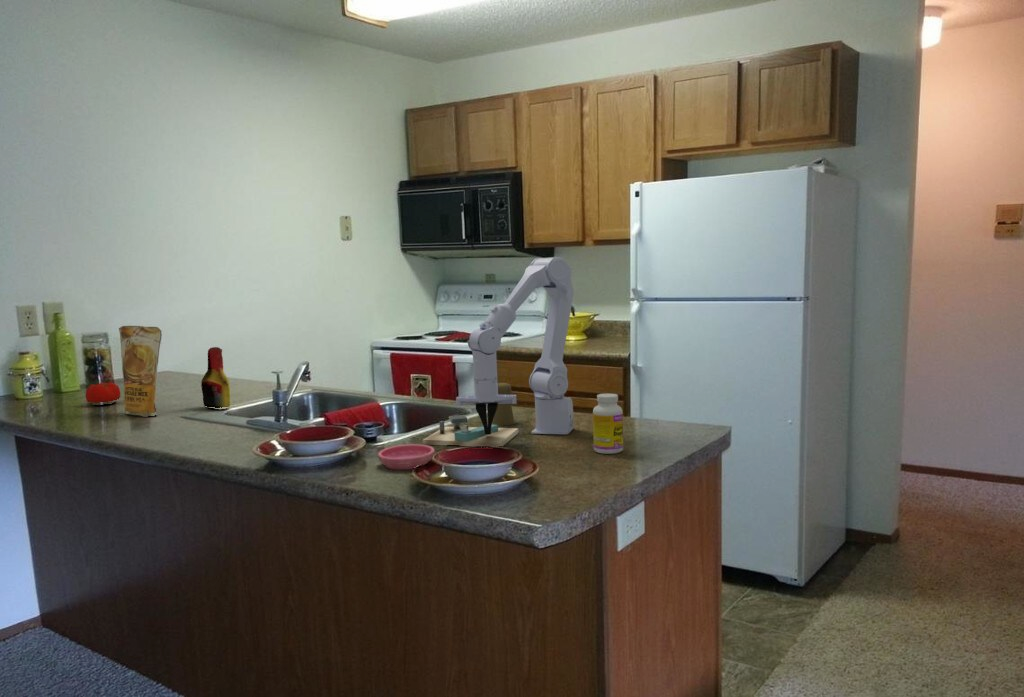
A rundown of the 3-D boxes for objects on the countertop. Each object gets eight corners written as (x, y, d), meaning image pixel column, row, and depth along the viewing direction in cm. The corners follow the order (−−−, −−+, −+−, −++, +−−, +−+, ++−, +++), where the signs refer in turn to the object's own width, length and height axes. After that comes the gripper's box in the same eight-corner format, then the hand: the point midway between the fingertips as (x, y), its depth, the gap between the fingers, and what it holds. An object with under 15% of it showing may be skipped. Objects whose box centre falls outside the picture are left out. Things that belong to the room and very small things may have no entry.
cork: (511, 425, 203) (510, 385, 202) (489, 425, 204) (488, 385, 203) (516, 420, 209) (514, 381, 208) (494, 420, 210) (493, 381, 209)
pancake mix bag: (136, 410, 249) (128, 324, 245) (171, 414, 238) (163, 325, 235) (116, 414, 243) (108, 326, 240) (151, 418, 233) (142, 327, 229)
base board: (518, 433, 194) (518, 428, 194) (501, 447, 180) (500, 442, 180) (445, 430, 200) (445, 426, 200) (422, 444, 185) (422, 439, 185)
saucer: (404, 475, 160) (403, 460, 159) (366, 467, 168) (366, 453, 167) (446, 462, 169) (446, 448, 169) (409, 454, 177) (408, 441, 177)
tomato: (98, 408, 255) (95, 386, 254) (80, 406, 261) (78, 384, 260) (128, 403, 264) (126, 381, 263) (111, 401, 270) (109, 380, 269)
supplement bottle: (615, 456, 168) (614, 398, 166) (588, 453, 171) (587, 396, 170) (628, 449, 173) (626, 393, 172) (601, 446, 177) (600, 391, 175)
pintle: (469, 438, 185) (469, 425, 184) (467, 439, 183) (467, 426, 183) (464, 438, 185) (463, 425, 185) (462, 439, 184) (461, 426, 183)
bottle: (237, 408, 244) (232, 346, 242) (219, 412, 239) (213, 349, 237) (217, 405, 252) (212, 345, 249) (199, 409, 247) (193, 347, 244)
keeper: (468, 435, 193) (467, 418, 192) (440, 438, 191) (439, 420, 191) (464, 431, 198) (463, 414, 198) (437, 433, 197) (436, 416, 196)
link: (466, 441, 181) (466, 434, 181) (454, 439, 184) (454, 432, 184) (499, 430, 192) (499, 423, 192) (487, 429, 194) (487, 422, 194)
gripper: (515, 374, 188) (517, 428, 190) (456, 377, 188) (459, 431, 190) (515, 379, 181) (517, 435, 183) (454, 381, 181) (457, 437, 183)
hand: (487, 433), depth 186 cm, fingers closed
